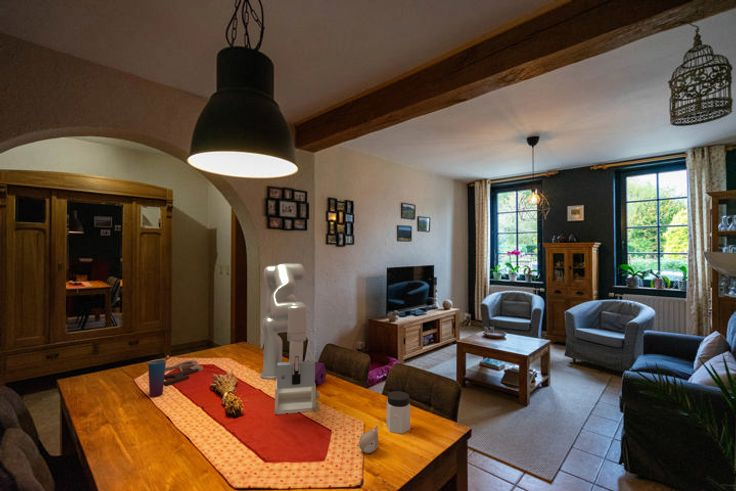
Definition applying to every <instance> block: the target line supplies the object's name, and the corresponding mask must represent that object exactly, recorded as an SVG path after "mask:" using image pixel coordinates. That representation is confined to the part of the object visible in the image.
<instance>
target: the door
mask: <svg viewBox="0 0 736 491" xmlns="http://www.w3.org/2000/svg"><path fill="white" fill-rule="evenodd" d="M315 362H316V361H315V360H302V366H301V367H300V384H298V385H292V374H293V367H289V361H287V362H285V361H284V362H283V361H282V363H277V378H276V379H277V389H283V388H296V387H309V386H316V384H315ZM294 366H295V365H294ZM298 366H299V365H298ZM294 369H295V368H294ZM298 369H299V368H298Z"/></svg>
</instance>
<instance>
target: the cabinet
mask: <svg viewBox="0 0 736 491" xmlns="http://www.w3.org/2000/svg"><path fill="white" fill-rule="evenodd" d="M320 395H321V391H320V390H317V388H316V385H315V386H309V387H296V388H283V389H277V378H275V389H274V415H276V414H277V415H286V413H288V414H297V413H298V412H300V413H308V412H307V411H311V412H317V410H320V407H321V406H320V404H321V403H320V402H319V401H317V399H320Z"/></svg>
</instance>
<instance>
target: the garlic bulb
mask: <svg viewBox="0 0 736 491" xmlns="http://www.w3.org/2000/svg"><path fill="white" fill-rule="evenodd" d="M377 430H379V425H378V424H376V425H375V426H374V428H372V429H371V430H368V431H367V432H364V433H362V434H361V435H360V436H359V439H358V446H359V450H361V451H362V452H363V453H366V454H370V453H373V452H375V451H376V449H377V448H378V447H379V433H378V431H377Z"/></svg>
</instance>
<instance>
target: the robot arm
mask: <svg viewBox="0 0 736 491" xmlns="http://www.w3.org/2000/svg"><path fill="white" fill-rule="evenodd" d="M263 277H264V282H265V285H266V311H267V312H268V313H270V314H271V315H270V314H269V315H266V316H265V317H264V318H263V319H262V330H263V364H262V365H263V368H262V370H263V371H261V372H260V373H259V376H260V378H262V379H265V380H266V379H267V380H271V379H272V380H273V379H274V380H276V379H277V363H282V362H283V339H282V338H281V337H280V335H279V334H280V333H287V335H286V336H287V337H286V338H287V339H286V340H287V341H288V342H289V346H288V348H289V351H288V352H289V354H288V358H289V359H288V362H289V367H293V374H292V385H298V384H300V367H301V366H302V361H303V355H304V342H305V341H306V340H307V327H308V325H307V320H308V317H307V316H308V307H307V306H306V305H305V303H304V302H303V301H302V302H301V301H297V297H296V296H295V295H294V294H295V292H296V291H297V289H298V288H297V282H302V281H303V280H304V279H305V277H306V270H305V267H304V266H303V264H302V263H288V262H287V263H286V262H285V263H280V264H277V265H268V266H266V267H264V270H263ZM294 365H295V366H294ZM298 365H299V366H298ZM294 368H295V369H294ZM298 368H299V369H298Z"/></svg>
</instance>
